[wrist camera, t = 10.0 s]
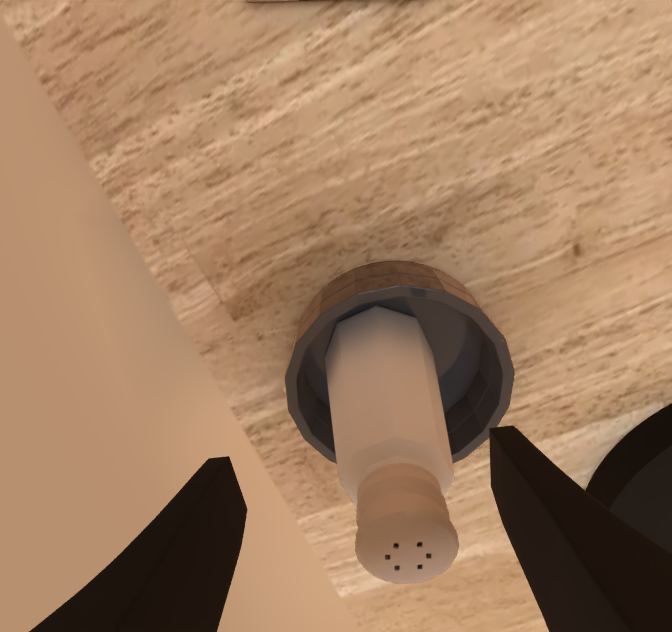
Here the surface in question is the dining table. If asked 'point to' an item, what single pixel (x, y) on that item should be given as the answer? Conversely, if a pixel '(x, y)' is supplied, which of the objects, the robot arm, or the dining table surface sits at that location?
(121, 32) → the dining table surface
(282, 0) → the smartphone
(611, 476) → the wireless charger
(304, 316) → the bowl
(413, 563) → the salt shaker
